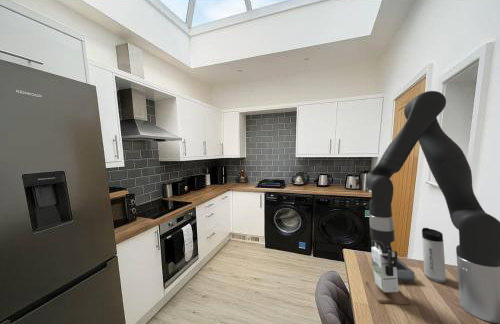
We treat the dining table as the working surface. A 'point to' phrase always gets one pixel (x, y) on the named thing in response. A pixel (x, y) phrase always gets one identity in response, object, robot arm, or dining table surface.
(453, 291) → the dining table surface
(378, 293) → the walnut board
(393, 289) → the syrup box
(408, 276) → the frame
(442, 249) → the travel mug
